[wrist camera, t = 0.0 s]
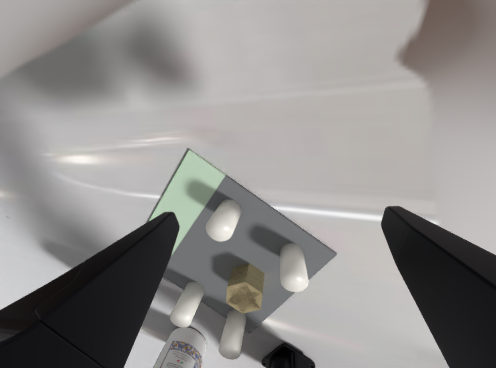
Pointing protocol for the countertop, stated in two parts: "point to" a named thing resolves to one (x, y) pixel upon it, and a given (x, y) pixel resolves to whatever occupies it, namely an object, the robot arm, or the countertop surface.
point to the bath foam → (182, 350)
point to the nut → (245, 288)
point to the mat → (238, 246)
